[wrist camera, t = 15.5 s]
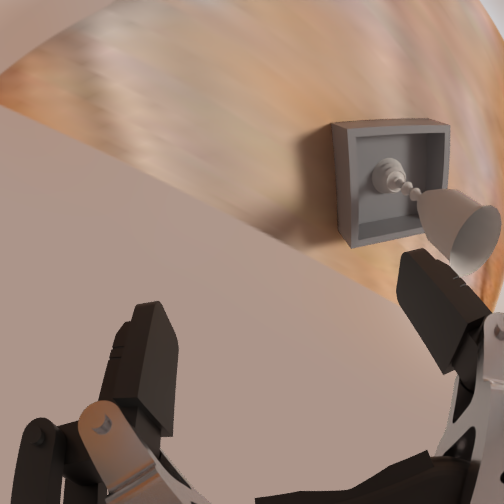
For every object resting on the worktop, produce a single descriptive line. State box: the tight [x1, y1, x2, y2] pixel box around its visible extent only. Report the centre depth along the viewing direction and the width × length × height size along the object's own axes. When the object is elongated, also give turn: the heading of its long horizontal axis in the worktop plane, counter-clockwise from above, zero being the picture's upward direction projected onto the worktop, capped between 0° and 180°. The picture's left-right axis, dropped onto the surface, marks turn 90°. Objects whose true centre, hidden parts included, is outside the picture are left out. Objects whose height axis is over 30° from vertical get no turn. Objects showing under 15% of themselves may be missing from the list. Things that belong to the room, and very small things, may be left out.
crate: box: [331, 119, 450, 249], centre depth 35 cm, size 15×15×5 cm
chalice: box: [372, 158, 501, 277], centre depth 29 cm, size 7×7×18 cm
